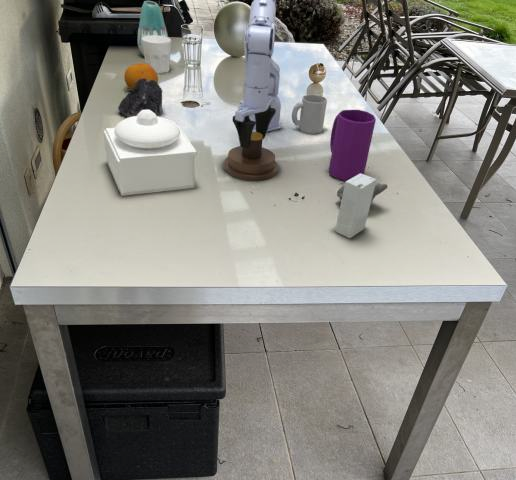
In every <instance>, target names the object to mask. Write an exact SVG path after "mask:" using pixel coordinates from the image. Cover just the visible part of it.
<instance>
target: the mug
mask: <svg viewBox="0 0 516 480" xmlns="http://www.w3.org/2000/svg"><path fill="white" fill-rule="evenodd" d="M376 121H377V119H376V117H375V115H374V114H372V113H371V112H368V111H366V110H361V109H342V110H340V112H338V113H337V115H336V116H335V118H334V120H333V124H332V127H331V132H330V139H329V141H330V142H329V148H330V153H331V154H330V161H329V167H328V171H329V174H330V176H333V178H335V179H337V180H340V181H344V182H346V181H348V180H350V179H351V178H353V177H355V176H357V175H358V174H360V173H361V174H364V175H365V172H366V167H367V162H368V157H369V153H370V152H369V151H370V148H371V144H372V139H373V134H374V130H375V125H376Z"/></svg>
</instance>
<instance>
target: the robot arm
mask: <svg viewBox="0 0 516 480" xmlns="http://www.w3.org/2000/svg"><path fill="white" fill-rule="evenodd" d="M276 2H277V0H253V1H252V2H251V5H250V11H249V18H248V25H247V27H245V29H244V40H243V51H244V64H245V65H244V77H243V99H241V100H239V103H238V104H239V105H240V106H239V108H238V109H237V110H235V114H234V115H233V116H232V121H231V122H232V123H233V125H234V127H235V130H236V132H237V136H238V141H239V146H241V147H243V148H246V149H248V148H249V146H250V141H251V135H252V131H253V132H258V133H261V134H262V135H263V140H265V139H266V136H267V132H272V131H275V130H276V131H277V130H280V129H281V126H280V121H281V119H280V118H281V111H282V110H281V109H282V103H281V100H280V98H279V96H278V95H279V89H280V78H281V74H280V73H281V68H280V65H279V64H278V63H277V62H276V61H275V60H274V59H273V58H272V57H273V54H274V49H275V39H276V29H275V27H276V26H275V25H276V23H275V22H276V12H277V7H276Z"/></svg>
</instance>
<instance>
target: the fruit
mask: <svg viewBox="0 0 516 480" xmlns="http://www.w3.org/2000/svg"><path fill="white" fill-rule="evenodd" d="M158 75H159V74H158V73H156V71H155V70H154V69H153V67H151V66H150V65H149V64H146V63H145V62H137V63H134V64H131V65H129V66H128V67H127V68H126V69H125V71H124V76H123V79H124V83H125V85H126V86H127V87H128V88H129V89H130V90H132V89H133V88H134V86H135V83H136V82H137V81H138V80H139V79H144V78H145V79H147V80H148V81H149V82H150V81H151V80H155V81H156V82H157V83H158V84H159V76H158Z"/></svg>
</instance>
